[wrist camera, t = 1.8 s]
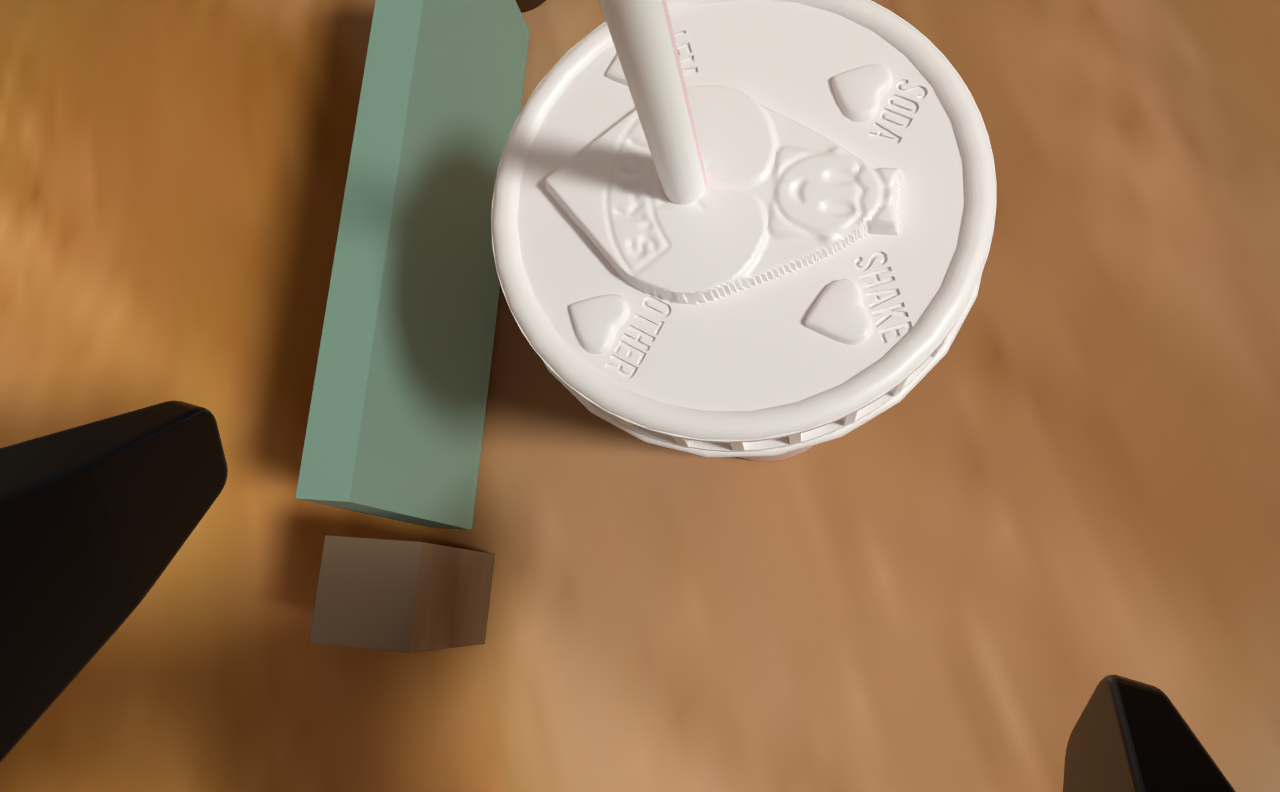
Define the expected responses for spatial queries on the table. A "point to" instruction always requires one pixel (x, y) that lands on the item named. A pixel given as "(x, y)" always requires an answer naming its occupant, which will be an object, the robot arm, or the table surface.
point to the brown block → (402, 588)
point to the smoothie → (744, 219)
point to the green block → (416, 266)
